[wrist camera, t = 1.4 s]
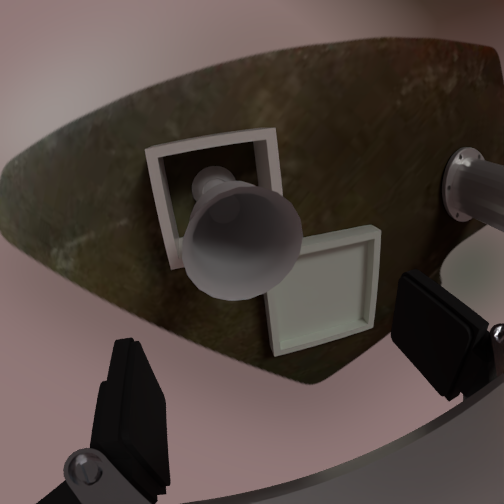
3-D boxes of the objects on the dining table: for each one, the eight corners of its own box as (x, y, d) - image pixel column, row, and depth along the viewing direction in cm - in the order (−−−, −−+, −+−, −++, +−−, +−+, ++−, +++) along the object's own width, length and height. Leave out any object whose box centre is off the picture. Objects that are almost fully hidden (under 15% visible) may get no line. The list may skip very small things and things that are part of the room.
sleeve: (260, 127, 32) (275, 127, 27) (271, 228, 37) (287, 246, 32) (151, 146, 31) (144, 149, 25) (172, 247, 36) (171, 269, 30)
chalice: (211, 230, 36) (237, 320, 20) (169, 189, 33) (155, 252, 17) (258, 187, 35) (324, 243, 19) (218, 143, 32) (252, 158, 16)
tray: (371, 224, 40) (381, 230, 38) (365, 318, 47) (373, 327, 44) (257, 246, 38) (262, 254, 36) (269, 345, 44) (274, 356, 42)
